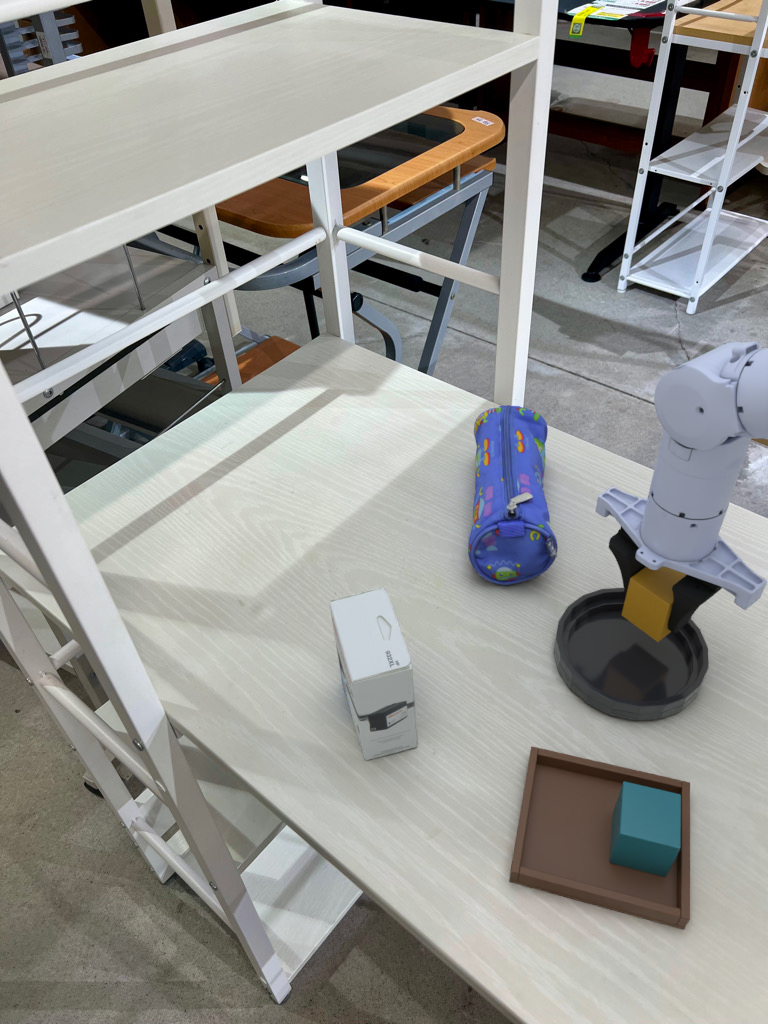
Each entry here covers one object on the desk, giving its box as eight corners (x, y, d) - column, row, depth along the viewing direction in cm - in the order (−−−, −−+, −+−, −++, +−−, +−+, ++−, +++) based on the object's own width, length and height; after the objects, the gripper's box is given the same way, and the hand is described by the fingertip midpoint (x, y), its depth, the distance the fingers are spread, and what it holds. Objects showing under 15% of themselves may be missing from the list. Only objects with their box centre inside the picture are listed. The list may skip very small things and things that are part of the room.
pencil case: (553, 597, 74) (563, 528, 68) (466, 593, 75) (468, 525, 69) (543, 457, 90) (551, 390, 83) (472, 455, 91) (473, 389, 85)
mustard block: (686, 619, 66) (699, 581, 63) (657, 642, 64) (669, 605, 61) (649, 593, 69) (659, 555, 65) (620, 615, 67) (630, 577, 63)
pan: (701, 618, 71) (707, 601, 69) (702, 737, 62) (710, 721, 60) (562, 594, 74) (565, 577, 73) (545, 704, 65) (548, 688, 64)
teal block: (665, 877, 54) (680, 848, 51) (609, 863, 55) (619, 833, 52) (667, 824, 57) (681, 794, 53) (612, 811, 58) (623, 780, 54)
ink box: (340, 680, 68) (326, 597, 60) (392, 667, 69) (384, 583, 61) (363, 763, 62) (350, 683, 54) (419, 747, 63) (415, 666, 55)
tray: (684, 793, 59) (690, 782, 58) (684, 929, 52) (690, 920, 50) (529, 757, 62) (531, 745, 61) (509, 881, 55) (510, 871, 53)
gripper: (579, 471, 59) (562, 584, 68) (744, 573, 50) (698, 688, 60) (637, 434, 62) (613, 548, 71) (802, 526, 53) (750, 642, 63)
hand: (655, 609), depth 66 cm, fingers closed on mustard block, 4 cm apart
